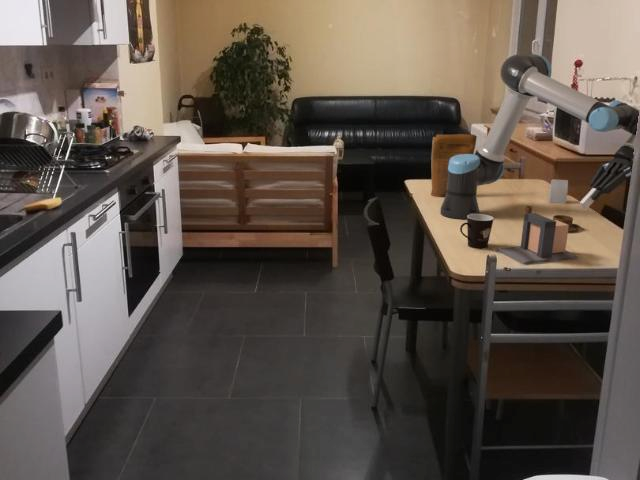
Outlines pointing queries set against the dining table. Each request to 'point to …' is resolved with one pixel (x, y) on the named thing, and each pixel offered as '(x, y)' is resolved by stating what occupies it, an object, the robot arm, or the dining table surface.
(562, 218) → the place setting
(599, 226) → the dining table surface
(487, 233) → the coffee mug
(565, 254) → the base board
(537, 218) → the dark grey archway
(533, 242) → the peach box
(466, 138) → the pancake mix bag
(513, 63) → the robot arm
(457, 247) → the dining table surface
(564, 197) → the tea bag
